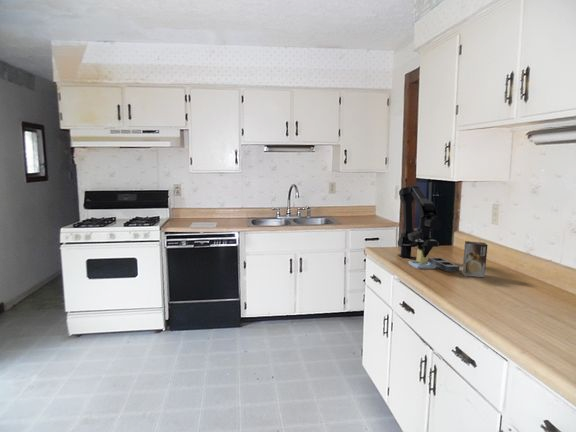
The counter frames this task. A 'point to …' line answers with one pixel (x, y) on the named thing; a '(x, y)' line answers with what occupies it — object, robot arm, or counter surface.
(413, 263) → the tray
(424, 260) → the brushed brass block
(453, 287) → the counter surface
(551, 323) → the counter surface
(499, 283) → the counter surface
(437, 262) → the plate with rectangular hole
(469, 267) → the coffee box
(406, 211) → the robot arm
